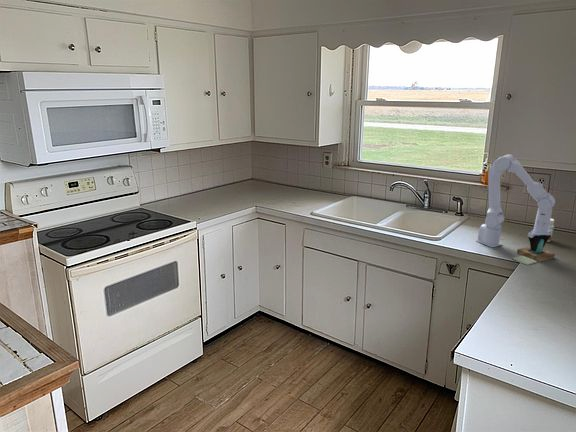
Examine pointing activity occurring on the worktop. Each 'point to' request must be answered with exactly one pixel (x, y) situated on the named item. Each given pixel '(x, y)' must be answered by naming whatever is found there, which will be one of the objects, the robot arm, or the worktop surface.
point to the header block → (537, 257)
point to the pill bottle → (551, 228)
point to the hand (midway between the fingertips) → (536, 249)
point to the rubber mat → (525, 260)
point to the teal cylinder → (539, 247)
